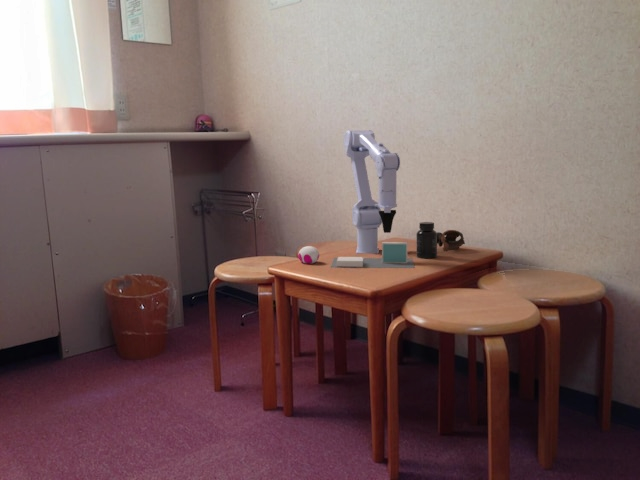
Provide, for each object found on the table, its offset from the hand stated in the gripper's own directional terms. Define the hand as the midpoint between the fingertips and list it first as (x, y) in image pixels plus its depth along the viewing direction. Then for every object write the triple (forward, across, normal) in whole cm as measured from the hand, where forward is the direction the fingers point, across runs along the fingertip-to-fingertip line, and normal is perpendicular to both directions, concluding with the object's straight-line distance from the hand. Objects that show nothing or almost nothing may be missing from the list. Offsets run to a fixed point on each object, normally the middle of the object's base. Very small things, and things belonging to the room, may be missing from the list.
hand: (387, 232), depth 185 cm
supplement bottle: (+10, -5, +13) cm, 17 cm away
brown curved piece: (+10, -22, +22) cm, 32 cm away
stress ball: (+10, +7, -26) cm, 28 cm away
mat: (+10, +5, -5) cm, 12 cm away
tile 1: (+8, +6, -12) cm, 15 cm away
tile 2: (+9, +5, +2) cm, 11 cm away
